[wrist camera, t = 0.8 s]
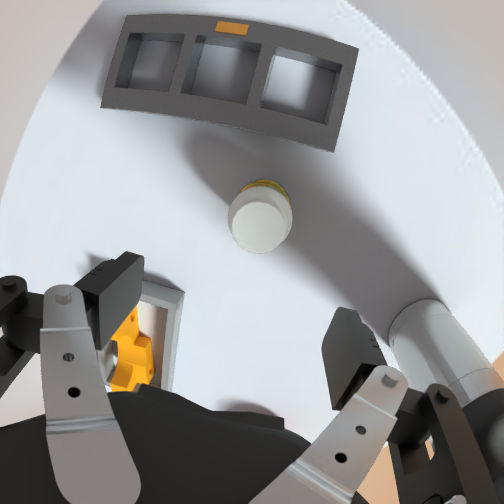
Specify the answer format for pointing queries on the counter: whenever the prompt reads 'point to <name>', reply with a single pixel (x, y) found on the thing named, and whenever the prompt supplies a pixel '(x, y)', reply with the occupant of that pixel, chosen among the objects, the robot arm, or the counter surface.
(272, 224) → the supplement bottle
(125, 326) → the pipe clamp
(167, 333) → the clamp tray
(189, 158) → the counter surface
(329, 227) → the counter surface
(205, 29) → the three-compartment grey tray
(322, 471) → the robot arm
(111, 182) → the counter surface
